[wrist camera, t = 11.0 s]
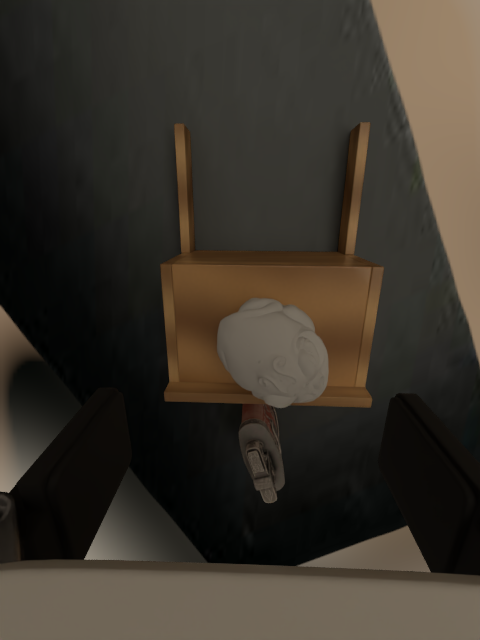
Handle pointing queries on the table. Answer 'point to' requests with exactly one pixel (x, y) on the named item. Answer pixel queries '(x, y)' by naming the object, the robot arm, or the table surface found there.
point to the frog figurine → (273, 352)
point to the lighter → (262, 448)
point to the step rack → (269, 296)
